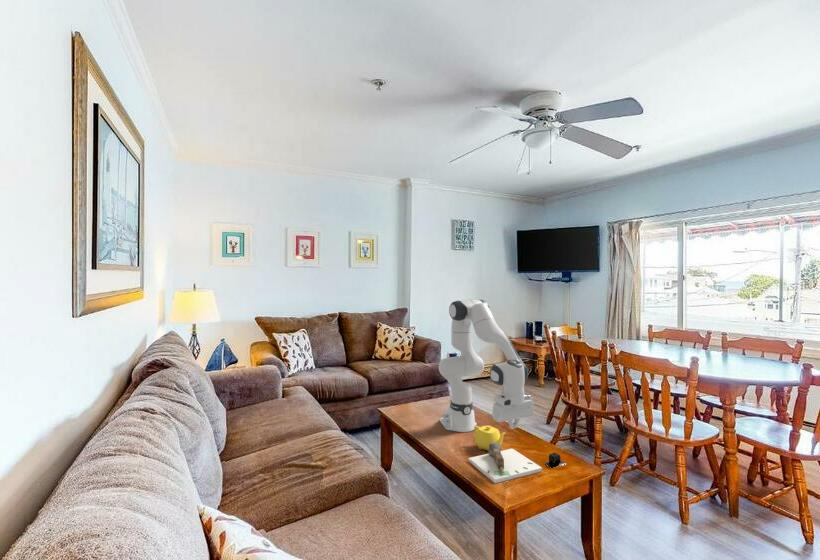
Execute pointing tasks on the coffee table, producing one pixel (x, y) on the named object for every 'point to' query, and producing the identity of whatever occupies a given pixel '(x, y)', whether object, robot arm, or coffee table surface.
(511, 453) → the dial plate
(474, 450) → the coffee table surface
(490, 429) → the teapot
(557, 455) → the black flanged block
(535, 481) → the coffee table surface
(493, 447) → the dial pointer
